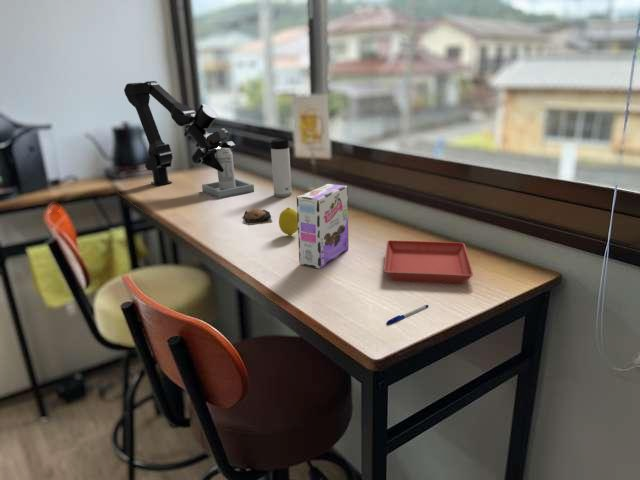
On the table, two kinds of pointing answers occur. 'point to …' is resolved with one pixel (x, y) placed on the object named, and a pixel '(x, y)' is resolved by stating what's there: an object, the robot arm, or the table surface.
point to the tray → (239, 189)
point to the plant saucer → (427, 261)
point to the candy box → (322, 225)
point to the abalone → (257, 217)
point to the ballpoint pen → (405, 315)
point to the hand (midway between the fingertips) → (228, 169)
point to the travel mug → (281, 167)
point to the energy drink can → (226, 169)
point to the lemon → (288, 221)
